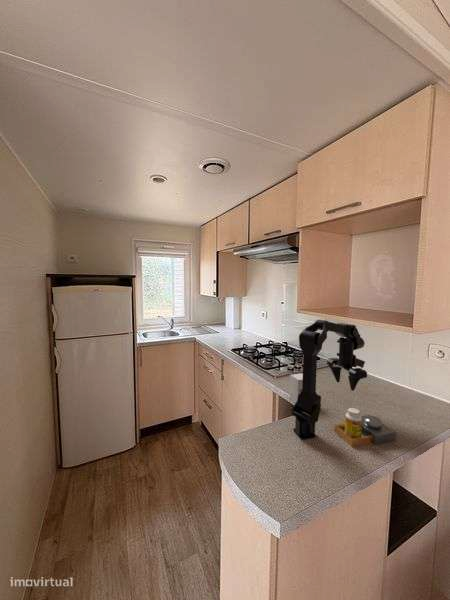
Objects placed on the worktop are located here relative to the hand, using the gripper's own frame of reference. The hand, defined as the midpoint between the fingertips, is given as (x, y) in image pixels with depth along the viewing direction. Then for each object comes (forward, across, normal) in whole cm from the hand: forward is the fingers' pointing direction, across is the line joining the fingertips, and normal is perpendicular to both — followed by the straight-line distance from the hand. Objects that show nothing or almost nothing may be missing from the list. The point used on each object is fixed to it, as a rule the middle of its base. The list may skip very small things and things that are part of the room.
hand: (345, 386), depth 110 cm
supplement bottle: (+12, -16, +9) cm, 22 cm away
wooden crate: (+12, -16, +5) cm, 21 cm away
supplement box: (+12, +14, +14) cm, 23 cm away
